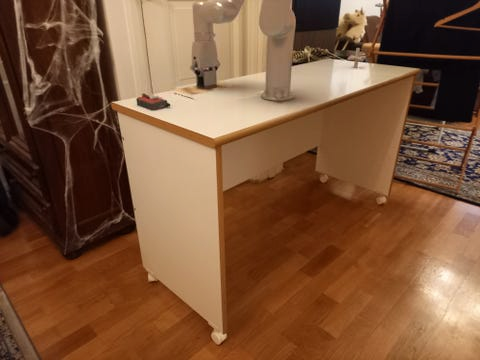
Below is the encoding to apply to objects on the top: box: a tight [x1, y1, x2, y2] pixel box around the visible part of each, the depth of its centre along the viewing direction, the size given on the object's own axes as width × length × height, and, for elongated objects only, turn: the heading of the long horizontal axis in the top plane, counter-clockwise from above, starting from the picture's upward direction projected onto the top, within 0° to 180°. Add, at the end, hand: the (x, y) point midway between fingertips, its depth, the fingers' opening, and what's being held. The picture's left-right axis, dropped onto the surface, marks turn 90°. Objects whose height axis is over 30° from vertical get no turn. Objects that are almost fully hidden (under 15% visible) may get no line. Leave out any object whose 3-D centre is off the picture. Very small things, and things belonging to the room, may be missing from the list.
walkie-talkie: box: [135, 92, 171, 111], centre depth 127 cm, size 9×4×20 cm
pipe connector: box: [347, 47, 367, 69], centre depth 187 cm, size 10×10×10 cm
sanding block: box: [195, 68, 218, 89], centre depth 143 cm, size 5×7×6 cm
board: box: [173, 81, 234, 100], centre depth 144 cm, size 22×12×2 cm, turn 134°
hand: (206, 84), depth 144 cm, fingers closed on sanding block, 5 cm apart
